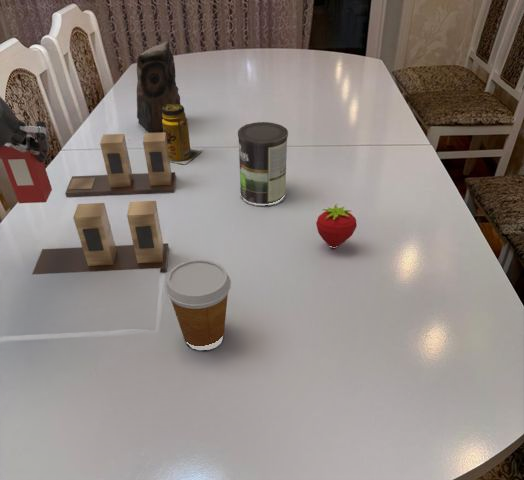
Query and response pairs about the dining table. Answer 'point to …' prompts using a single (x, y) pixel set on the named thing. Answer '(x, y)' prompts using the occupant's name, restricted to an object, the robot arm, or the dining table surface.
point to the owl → (155, 86)
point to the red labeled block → (26, 175)
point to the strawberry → (336, 225)
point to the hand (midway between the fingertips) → (26, 156)
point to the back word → (128, 170)
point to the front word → (109, 243)
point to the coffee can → (262, 162)
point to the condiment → (177, 134)
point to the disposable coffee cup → (199, 299)
